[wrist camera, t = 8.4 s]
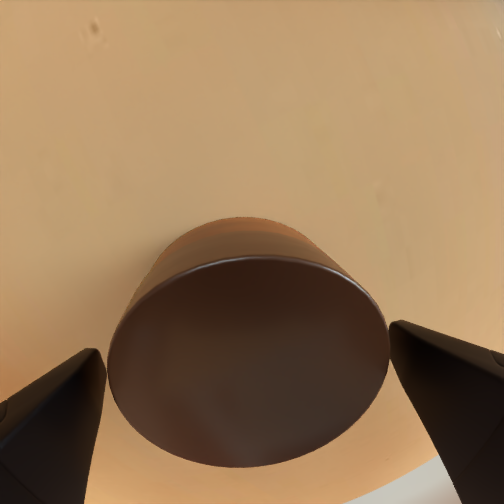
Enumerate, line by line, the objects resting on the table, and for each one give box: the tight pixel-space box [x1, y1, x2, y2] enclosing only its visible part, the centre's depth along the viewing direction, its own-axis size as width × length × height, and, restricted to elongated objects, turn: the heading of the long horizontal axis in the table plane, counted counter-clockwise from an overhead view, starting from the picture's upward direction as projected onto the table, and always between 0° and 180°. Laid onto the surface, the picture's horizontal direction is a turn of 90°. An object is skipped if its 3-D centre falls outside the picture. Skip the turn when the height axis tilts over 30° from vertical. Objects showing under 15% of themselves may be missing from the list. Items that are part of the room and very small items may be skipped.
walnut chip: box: [107, 231, 390, 468], centre depth 7 cm, size 7×7×2 cm
